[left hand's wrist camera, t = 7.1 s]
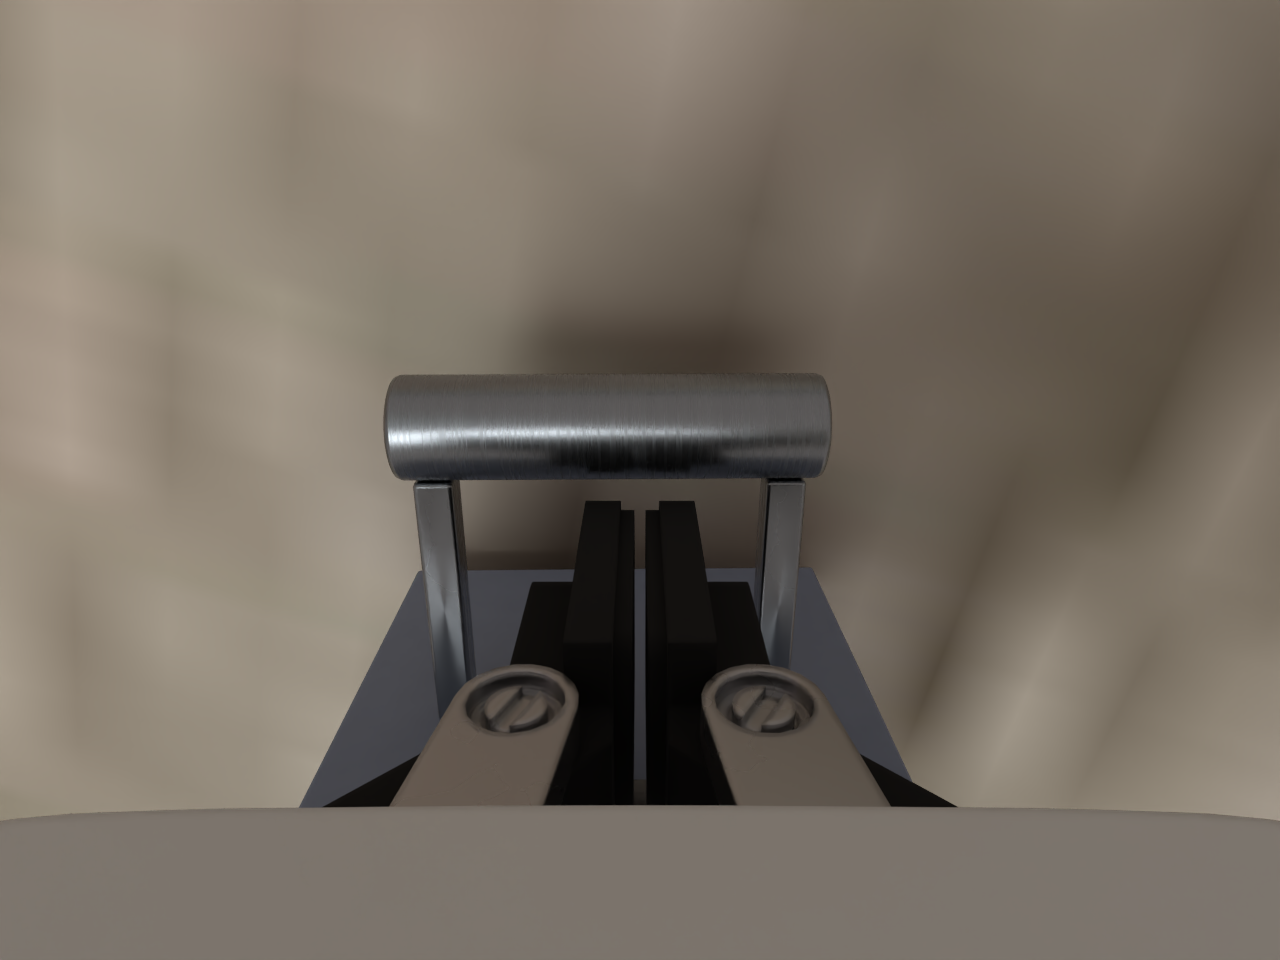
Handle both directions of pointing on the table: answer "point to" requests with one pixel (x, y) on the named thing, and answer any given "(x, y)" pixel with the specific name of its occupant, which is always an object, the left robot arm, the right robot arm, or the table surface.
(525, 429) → the drawer
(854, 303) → the table surface
